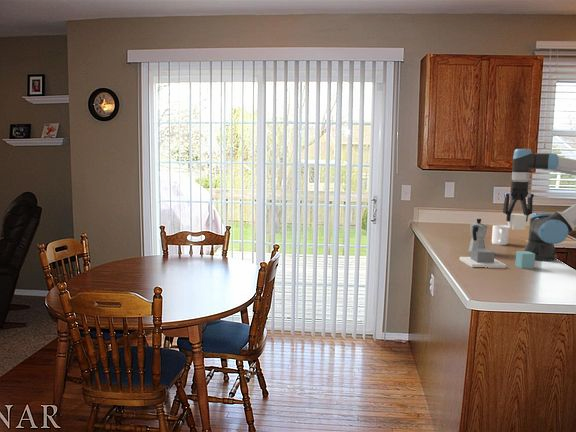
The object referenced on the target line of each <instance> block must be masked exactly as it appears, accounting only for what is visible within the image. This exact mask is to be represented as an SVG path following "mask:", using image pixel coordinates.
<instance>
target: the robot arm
mask: <svg viewBox="0 0 576 432" xmlns="http://www.w3.org/2000/svg"><path fill="white" fill-rule="evenodd" d="M511 170H512V172H511V173H512V174H511V180H512V181H511V185H510V191H509V192H507V193H506V192H504V194H503V195H504V202H503V209H502V213H503V214H505V215H506V219H505V221H506V222H507V226H508V227H507V228H509V230H513V229H512V216H513V215H511V214H513V210H514V207H515V205H516V203H517V202H518V201H520V203H521V208H522V213H523V215H526V223H527V222H528V219H529V227H528V230H529V231H528V239H527V240H528V241H527V243H526V246H525V248H524V250H523V251H529V252H532V253H534V254H535V261H549V260H552V261H556V260H557V252H556V248H555V245H557V244H560V243H563V242H564V241H565V240H566V239H567V238H568V235H569V234H571V233H573V232H574V230H575V227H576V203H574V204H572V205H571V206H569V207H568V208H566V209H565V210H563V211H555V212H554V213H544V212H543V213H541V212H539V213H538V212H535V213H534V212H533V203H534V201H533V199H534V196H535V195H534V193H530V192H529V191H528V190H529V182H528V181H530V172H531V171H530V170H543V171H550V172H554V173H560V174H566V175H571V176H576V159H573V158H567V157H561V156H559V155H558V154H557V153H551V152H550V153H548V152H546V153H545V152H544V153H543V152H541V153H540V152H539V153H538V152H534V153H533V152H532V149H531V148H516V149H514V151H513V156H512V169H511ZM510 197H511V198H510ZM526 197H527V199H526ZM529 216H530V218H529Z"/></svg>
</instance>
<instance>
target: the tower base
mask: <svg viewBox="0 0 576 432" xmlns="http://www.w3.org/2000/svg"><path fill="white" fill-rule="evenodd" d="M495 254H496V252H494V251H493V250H491V249H489V248H485V249H471V252H470V256H459V261H460V262H462V263H464V264H466V265H467V266H468V267H470V268H472V267H485V268H484V269H486V268H487V267H488V268H489V269H490V268H491V269H493V268H494V269H495V268H497V269H506V268H507V264H505V263H504V262H502V261H500V260H497V259H496V258H495ZM488 268H487V269H488Z"/></svg>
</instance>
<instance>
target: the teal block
mask: <svg viewBox="0 0 576 432" xmlns="http://www.w3.org/2000/svg"><path fill="white" fill-rule="evenodd" d="M514 262H515V264H514V265H515V266H516V267H518V268H519V269H529V270H530V269H531V270H532V269H533V270H535V262H536V260H535V254H534V253H532V252H529V251H524V250H522V251H521V250H517V251H515V261H514Z"/></svg>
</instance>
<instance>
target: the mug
mask: <svg viewBox="0 0 576 432" xmlns="http://www.w3.org/2000/svg"><path fill="white" fill-rule="evenodd" d="M507 226H508V225H505V224H493V225H492V232H491V233H492V234H491V243H492V244H493V245H497V246H506V245H508V240H509V230H510V228H507Z"/></svg>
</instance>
